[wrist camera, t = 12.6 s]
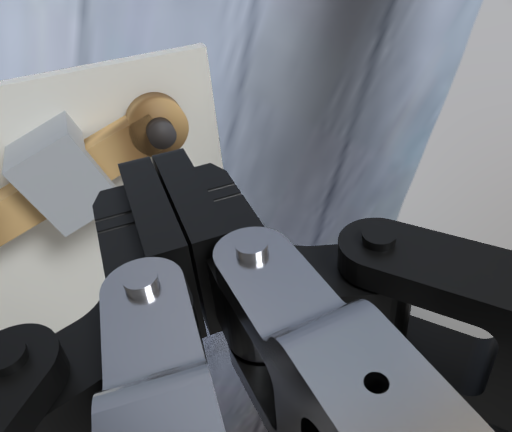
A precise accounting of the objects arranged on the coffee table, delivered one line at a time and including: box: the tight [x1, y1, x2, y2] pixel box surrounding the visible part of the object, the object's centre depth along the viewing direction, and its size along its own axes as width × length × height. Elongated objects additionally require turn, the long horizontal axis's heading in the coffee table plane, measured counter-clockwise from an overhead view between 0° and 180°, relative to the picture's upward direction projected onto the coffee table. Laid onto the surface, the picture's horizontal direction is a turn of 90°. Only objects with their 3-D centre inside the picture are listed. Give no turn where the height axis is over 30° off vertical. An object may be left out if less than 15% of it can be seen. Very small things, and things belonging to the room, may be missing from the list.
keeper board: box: [0, 43, 223, 333], centre depth 38 cm, size 25×24×6 cm
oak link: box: [0, 92, 189, 247], centre depth 35 cm, size 18×4×3 cm, turn 116°
